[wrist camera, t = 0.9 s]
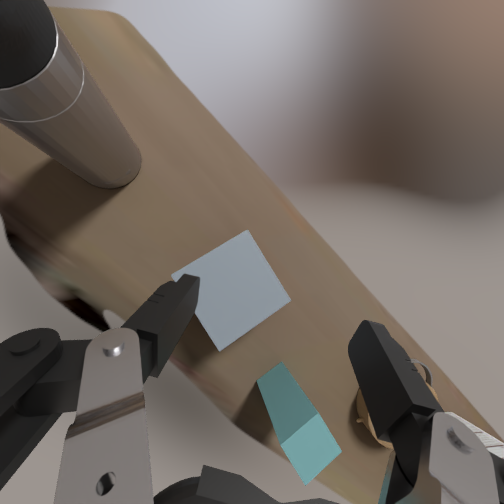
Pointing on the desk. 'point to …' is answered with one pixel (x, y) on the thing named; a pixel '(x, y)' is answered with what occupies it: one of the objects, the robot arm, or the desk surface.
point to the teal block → (297, 423)
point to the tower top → (234, 289)
